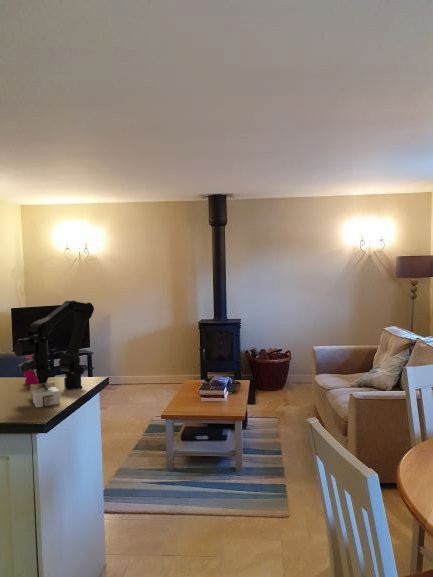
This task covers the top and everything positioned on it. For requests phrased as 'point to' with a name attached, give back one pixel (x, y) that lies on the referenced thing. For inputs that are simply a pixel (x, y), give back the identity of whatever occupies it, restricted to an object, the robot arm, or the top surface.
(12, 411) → the top surface
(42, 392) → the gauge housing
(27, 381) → the pepper mill
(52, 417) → the top surface
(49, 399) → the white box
